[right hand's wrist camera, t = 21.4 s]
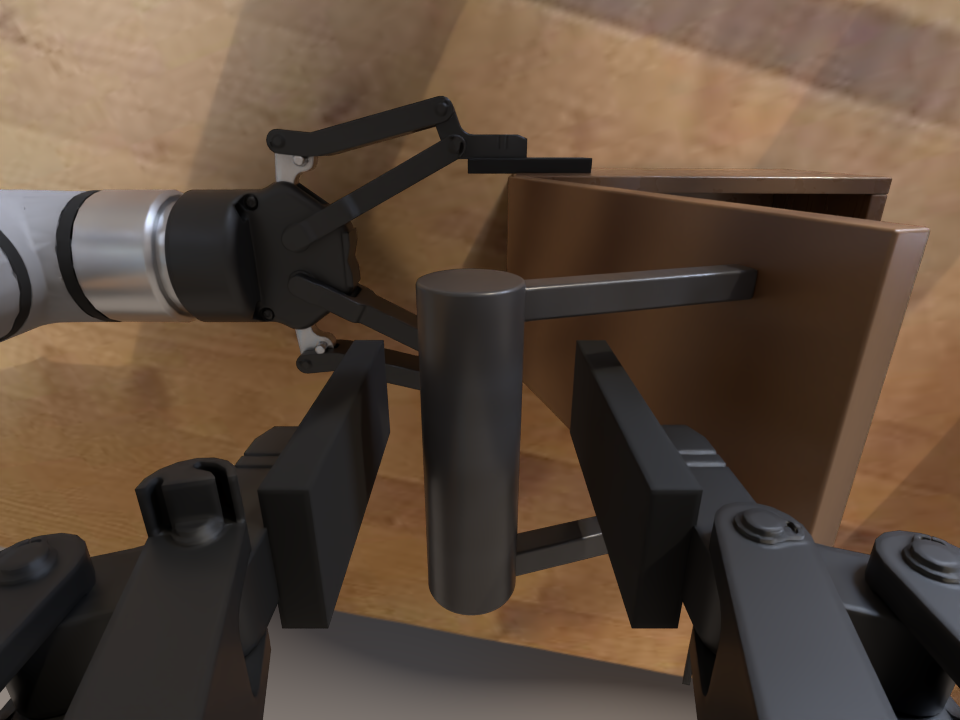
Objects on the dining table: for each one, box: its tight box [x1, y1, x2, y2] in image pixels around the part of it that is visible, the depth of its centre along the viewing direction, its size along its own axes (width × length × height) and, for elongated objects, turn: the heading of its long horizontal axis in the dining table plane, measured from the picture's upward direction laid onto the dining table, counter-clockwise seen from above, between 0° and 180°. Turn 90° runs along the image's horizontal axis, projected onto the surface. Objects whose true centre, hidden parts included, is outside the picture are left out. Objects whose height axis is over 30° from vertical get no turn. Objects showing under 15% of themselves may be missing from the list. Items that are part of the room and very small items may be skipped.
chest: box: [513, 168, 892, 221], centre depth 32 cm, size 17×9×10 cm, turn 90°
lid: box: [416, 176, 930, 615], centre depth 18 cm, size 18×9×8 cm
